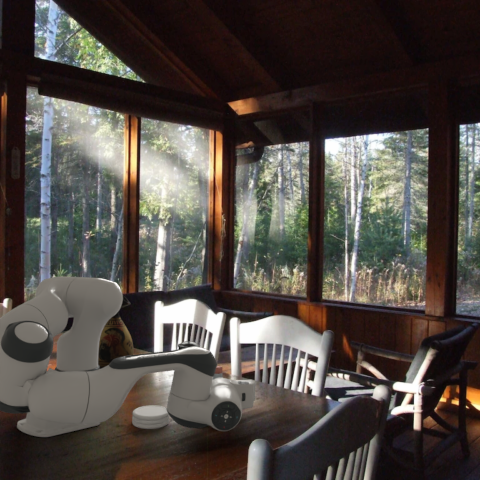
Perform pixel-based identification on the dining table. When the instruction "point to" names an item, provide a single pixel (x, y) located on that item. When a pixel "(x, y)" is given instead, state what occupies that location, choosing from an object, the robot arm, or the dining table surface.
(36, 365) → the robot arm
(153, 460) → the dining table surface
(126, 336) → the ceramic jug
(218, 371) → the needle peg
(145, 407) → the white short cylinder
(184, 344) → the drinking cup
